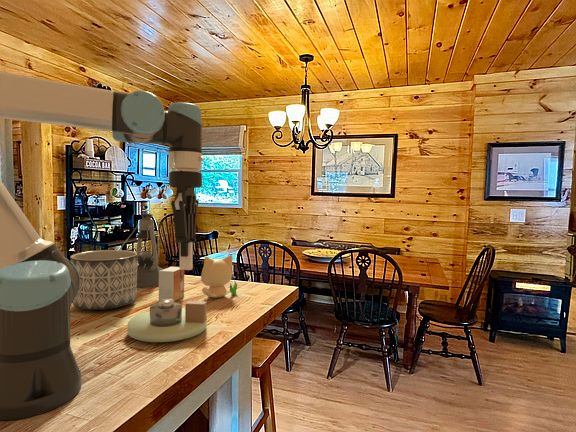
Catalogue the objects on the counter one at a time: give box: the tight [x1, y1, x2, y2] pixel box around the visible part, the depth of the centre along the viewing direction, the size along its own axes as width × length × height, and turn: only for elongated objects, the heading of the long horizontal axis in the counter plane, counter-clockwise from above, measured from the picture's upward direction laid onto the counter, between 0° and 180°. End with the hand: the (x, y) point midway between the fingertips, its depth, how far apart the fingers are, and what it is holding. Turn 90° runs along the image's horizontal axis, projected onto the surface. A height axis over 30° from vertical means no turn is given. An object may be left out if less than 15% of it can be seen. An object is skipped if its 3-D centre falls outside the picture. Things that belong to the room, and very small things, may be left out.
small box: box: [158, 266, 185, 302], centre depth 128 cm, size 8×6×10 cm
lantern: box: [119, 211, 164, 289], centre depth 147 cm, size 18×20×30 cm
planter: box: [70, 249, 138, 311], centre depth 119 cm, size 19×19×16 cm
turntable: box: [127, 300, 208, 343], centre depth 98 cm, size 20×20×7 cm
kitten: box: [200, 254, 238, 299], centre depth 132 cm, size 15×10×15 cm
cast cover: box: [149, 299, 183, 327], centre depth 97 cm, size 8×8×6 cm
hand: (186, 269), depth 89 cm, fingers closed
